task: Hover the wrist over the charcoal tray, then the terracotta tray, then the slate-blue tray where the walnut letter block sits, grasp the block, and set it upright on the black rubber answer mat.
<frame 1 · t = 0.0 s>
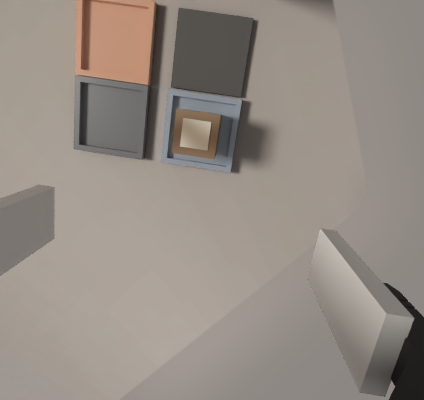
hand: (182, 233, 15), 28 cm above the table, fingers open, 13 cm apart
letter block: (200, 131, 41), resting on tray slate
tray terracotta: (117, 41, 39), on the table
answer mat: (211, 54, 39), on the table
tray slate: (201, 131, 41), on the table
tray charcoal: (112, 118, 42), on the table
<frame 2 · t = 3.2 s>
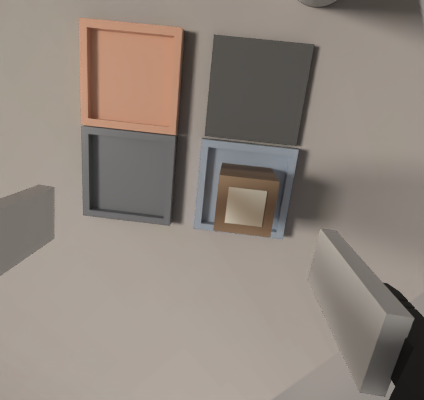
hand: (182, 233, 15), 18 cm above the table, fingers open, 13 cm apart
letter block: (243, 189, 32), resting on tray slate
tray terracotta: (133, 79, 30), on the table
answer mat: (256, 92, 30), on the table
tray slate: (243, 188, 32), on the table
tray charcoal: (130, 175, 33), on the table
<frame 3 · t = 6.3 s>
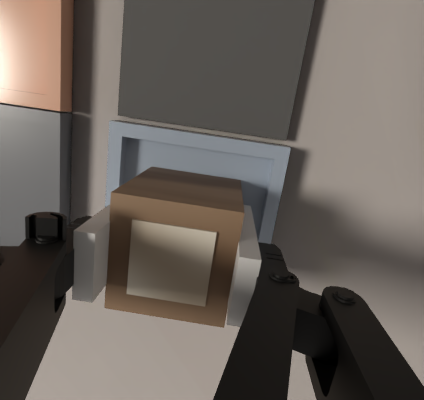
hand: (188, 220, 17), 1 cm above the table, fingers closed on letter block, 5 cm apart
letter block: (190, 215, 18), resting on tray slate, touching gripper
answer mat: (214, 37, 16), on the table
tray slate: (191, 213, 18), on the table
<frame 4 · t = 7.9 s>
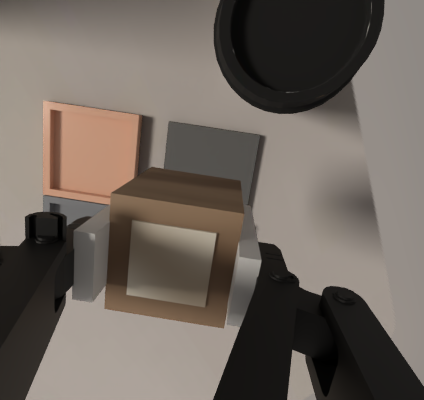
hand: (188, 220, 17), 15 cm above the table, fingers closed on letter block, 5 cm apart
letter block: (190, 215, 18), point 14 cm above the table, touching gripper
tray terracotta: (94, 155, 32), on the table
answer mat: (208, 172, 32), on the table
tray charcoal: (90, 239, 35), on the table
coffee cup: (265, 69, 29), on the table
when the fingers open (4 cm above the table, at t = 10.0 s): letter block drops 2 cm, resting on answer mat.
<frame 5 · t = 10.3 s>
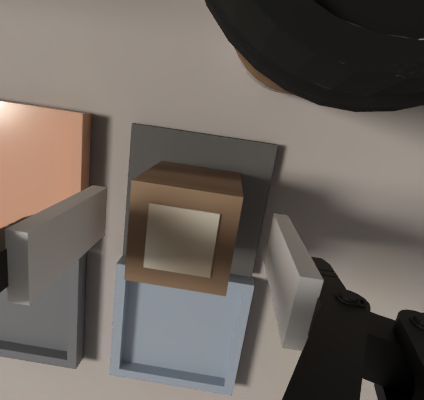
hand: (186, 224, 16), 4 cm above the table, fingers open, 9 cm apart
letter block: (195, 204, 20), point 1 cm above the table, touching answer mat
tray terracotta: (21, 174, 21), on the table
answer mat: (196, 201, 21), on the table
tray slate: (180, 322, 23), on the table
tray charcoal: (24, 296, 23), on the table
coffee cup: (287, 39, 18), on the table
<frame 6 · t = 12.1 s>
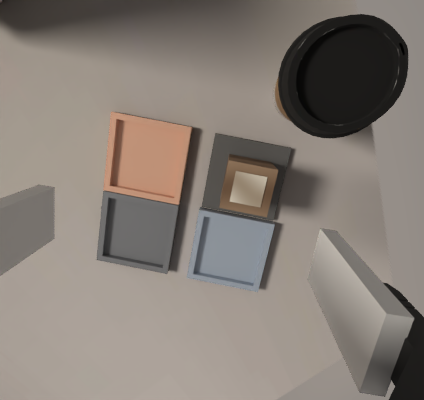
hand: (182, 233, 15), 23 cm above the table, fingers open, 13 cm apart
letter block: (245, 178, 37), point 1 cm above the table, touching answer mat
tray terracotta: (148, 158, 38), on the table
answer mat: (244, 177, 38), on the table
tray slate: (229, 248, 40), on the table
tray charcoal: (138, 230, 40), on the table
coffee cup: (298, 94, 35), on the table
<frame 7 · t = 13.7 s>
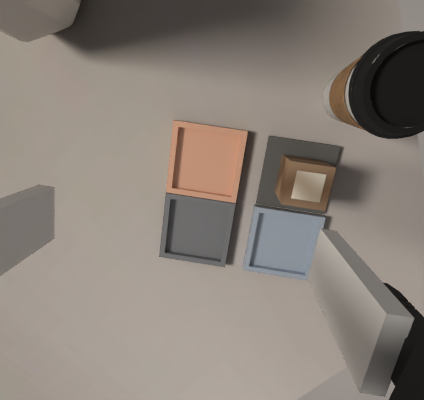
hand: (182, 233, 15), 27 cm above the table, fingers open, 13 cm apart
letter block: (297, 176, 40), point 1 cm above the table, touching answer mat
tray terracotta: (206, 161, 41), on the table
answer mat: (296, 175, 41), on the table
vase: (52, 0, 37), on the table
tray slate: (281, 241, 43), on the table
tray charcoal: (197, 228, 44), on the table
coffee cup: (346, 96, 38), on the table
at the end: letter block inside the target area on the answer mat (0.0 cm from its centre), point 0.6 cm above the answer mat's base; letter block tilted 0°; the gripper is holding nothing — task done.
